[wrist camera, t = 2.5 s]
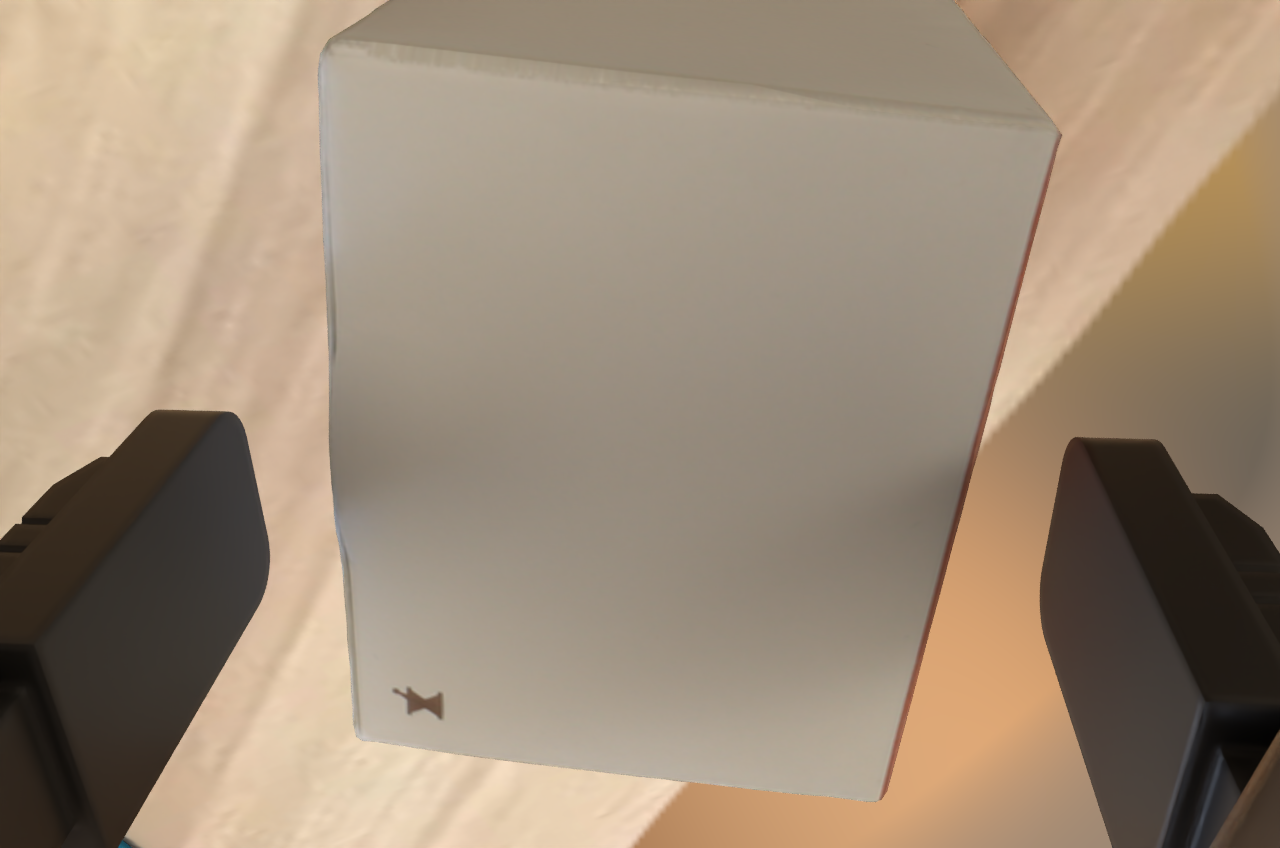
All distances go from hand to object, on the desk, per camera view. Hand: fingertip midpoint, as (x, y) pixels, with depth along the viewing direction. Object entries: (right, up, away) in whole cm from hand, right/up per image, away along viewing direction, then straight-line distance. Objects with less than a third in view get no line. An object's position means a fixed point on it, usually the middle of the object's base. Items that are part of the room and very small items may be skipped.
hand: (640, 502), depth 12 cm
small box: (+1, +7, +11) cm, 13 cm away
